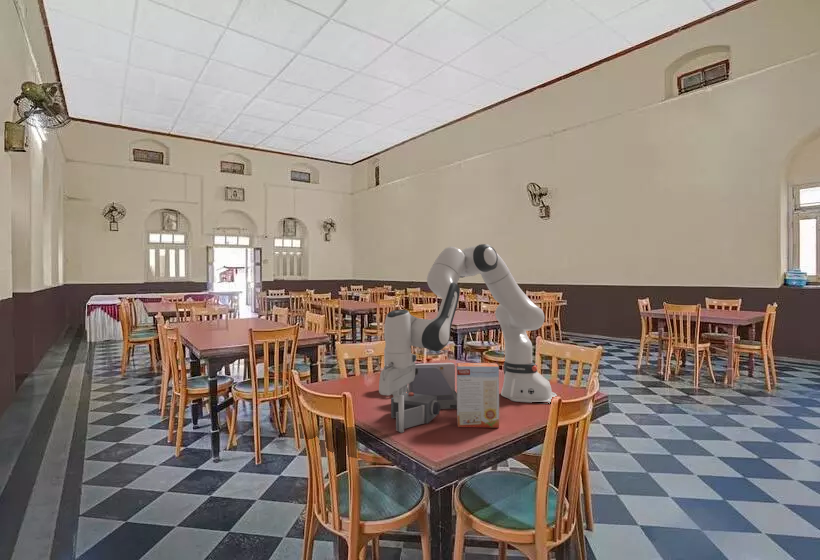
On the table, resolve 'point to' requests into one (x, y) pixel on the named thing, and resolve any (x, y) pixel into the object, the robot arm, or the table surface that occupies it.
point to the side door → (408, 416)
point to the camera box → (417, 400)
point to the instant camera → (436, 383)
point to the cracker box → (478, 395)
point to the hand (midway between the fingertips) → (397, 401)
